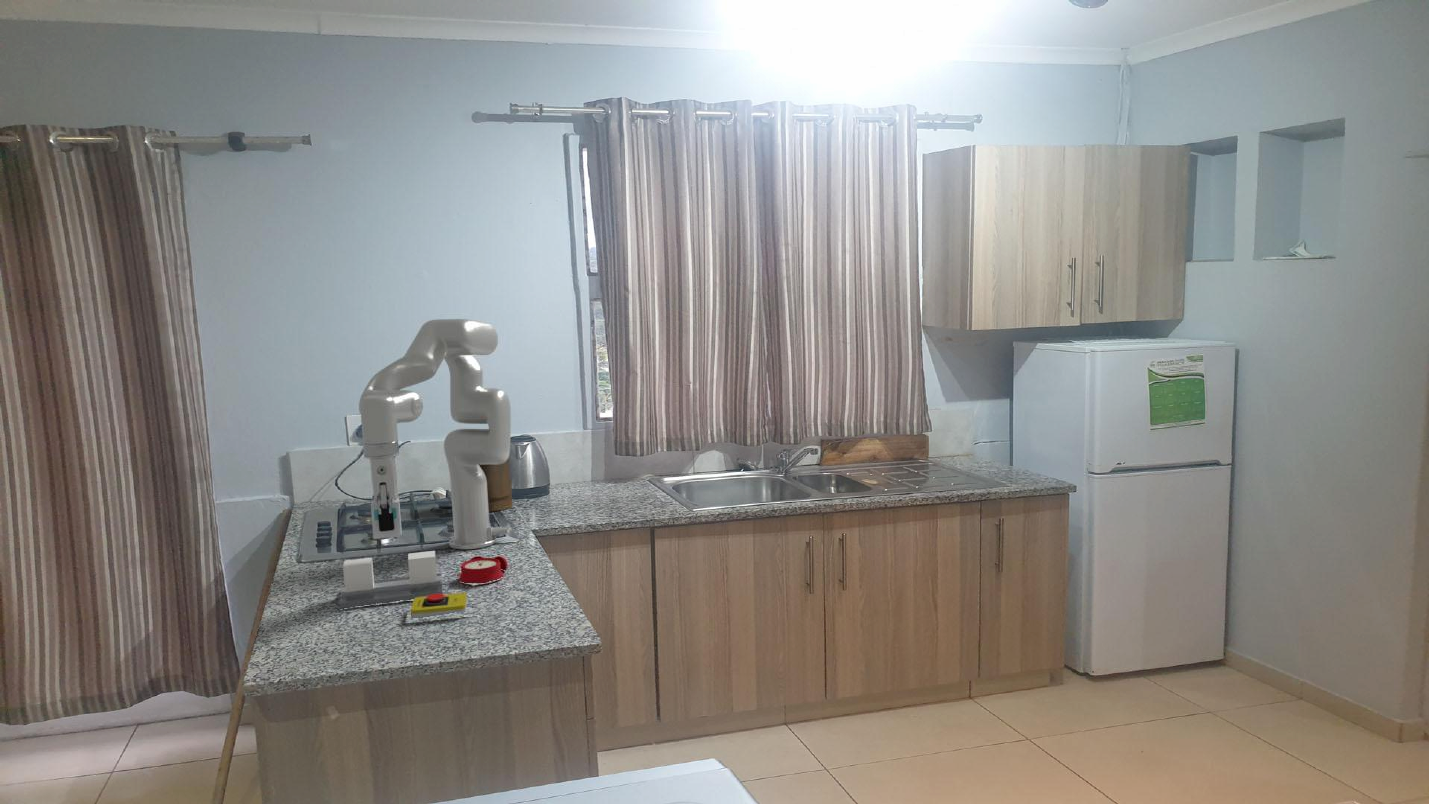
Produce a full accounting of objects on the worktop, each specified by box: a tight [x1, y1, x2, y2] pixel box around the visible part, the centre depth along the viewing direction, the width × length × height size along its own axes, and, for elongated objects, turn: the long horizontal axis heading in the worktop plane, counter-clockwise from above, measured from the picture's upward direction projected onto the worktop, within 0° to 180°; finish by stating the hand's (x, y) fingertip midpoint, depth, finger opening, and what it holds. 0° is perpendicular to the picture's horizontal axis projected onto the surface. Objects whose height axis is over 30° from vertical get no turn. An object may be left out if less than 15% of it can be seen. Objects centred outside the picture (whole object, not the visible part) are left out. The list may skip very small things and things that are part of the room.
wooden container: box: [478, 456, 513, 513], centre depth 303 cm, size 15×15×22 cm
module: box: [370, 497, 403, 540], centre depth 221 cm, size 6×5×8 cm
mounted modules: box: [342, 550, 438, 592], centre depth 223 cm, size 20×5×6 cm, turn 107°
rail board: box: [339, 572, 444, 610], centre depth 224 cm, size 22×14×2 cm, turn 107°
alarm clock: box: [456, 555, 508, 583], centre depth 234 cm, size 10×6×15 cm
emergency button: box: [410, 592, 468, 618], centre depth 210 cm, size 9×4×15 cm
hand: (387, 526), depth 222 cm, fingers closed on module, 5 cm apart
